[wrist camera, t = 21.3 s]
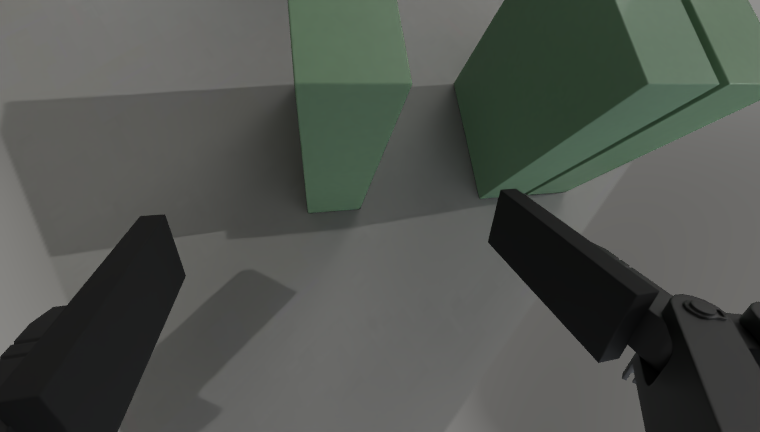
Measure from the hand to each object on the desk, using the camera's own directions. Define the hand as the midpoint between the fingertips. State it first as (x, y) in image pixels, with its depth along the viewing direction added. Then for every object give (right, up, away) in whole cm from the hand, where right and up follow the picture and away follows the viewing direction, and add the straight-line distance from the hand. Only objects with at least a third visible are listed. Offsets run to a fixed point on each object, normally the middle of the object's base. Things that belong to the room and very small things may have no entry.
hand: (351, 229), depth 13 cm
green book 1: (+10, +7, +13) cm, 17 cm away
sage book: (-3, +6, +10) cm, 12 cm away
